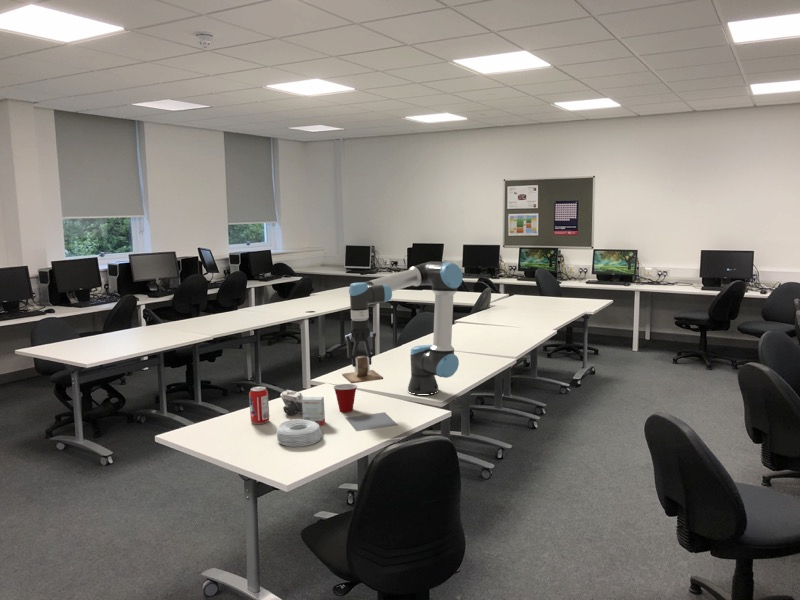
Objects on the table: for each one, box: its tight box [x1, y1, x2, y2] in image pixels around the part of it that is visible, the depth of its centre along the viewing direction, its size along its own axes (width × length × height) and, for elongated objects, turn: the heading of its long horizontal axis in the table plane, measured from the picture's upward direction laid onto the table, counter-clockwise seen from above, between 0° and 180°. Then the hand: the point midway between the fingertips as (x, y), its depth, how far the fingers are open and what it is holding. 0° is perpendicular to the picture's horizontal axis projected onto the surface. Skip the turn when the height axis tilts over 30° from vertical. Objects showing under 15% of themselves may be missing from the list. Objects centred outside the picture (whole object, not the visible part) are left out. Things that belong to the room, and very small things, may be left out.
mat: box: [345, 411, 399, 432], centre depth 254 cm, size 18×18×1 cm
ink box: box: [302, 396, 326, 427], centre depth 253 cm, size 9×5×12 cm, turn 84°
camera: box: [280, 389, 306, 416], centre depth 269 cm, size 9×16×10 cm, turn 49°
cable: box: [276, 418, 322, 448], centre depth 237 cm, size 18×18×6 cm
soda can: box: [248, 386, 270, 425], centre depth 258 cm, size 8×8×15 cm
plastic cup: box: [333, 383, 358, 413], centre depth 269 cm, size 11×11×12 cm
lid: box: [341, 355, 384, 384], centre depth 256 cm, size 14×14×9 cm
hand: (362, 372), depth 257 cm, fingers closed on lid, 4 cm apart
